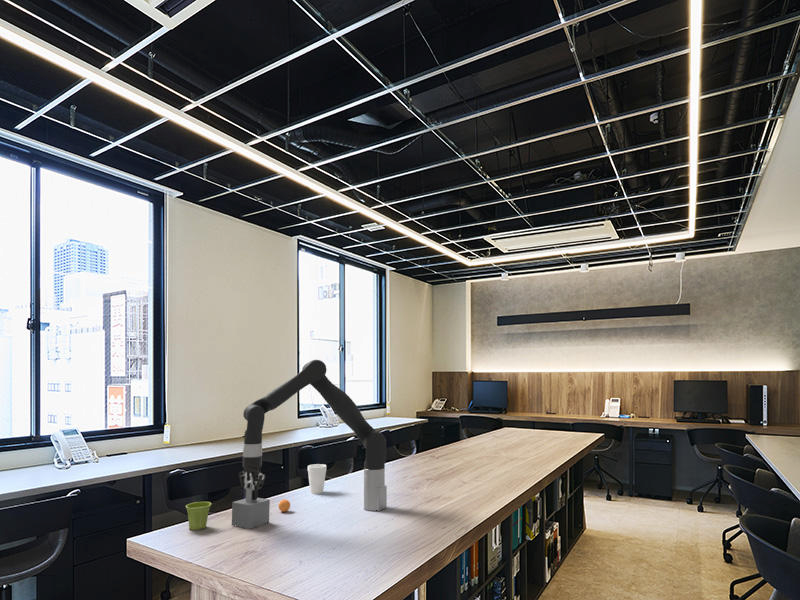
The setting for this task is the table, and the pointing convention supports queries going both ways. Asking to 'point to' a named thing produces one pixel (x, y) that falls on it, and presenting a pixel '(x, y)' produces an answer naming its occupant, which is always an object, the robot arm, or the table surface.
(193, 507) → the plant pot
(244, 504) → the grey block with knob
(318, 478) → the foam cup
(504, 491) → the table surface
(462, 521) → the table surface
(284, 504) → the ball
